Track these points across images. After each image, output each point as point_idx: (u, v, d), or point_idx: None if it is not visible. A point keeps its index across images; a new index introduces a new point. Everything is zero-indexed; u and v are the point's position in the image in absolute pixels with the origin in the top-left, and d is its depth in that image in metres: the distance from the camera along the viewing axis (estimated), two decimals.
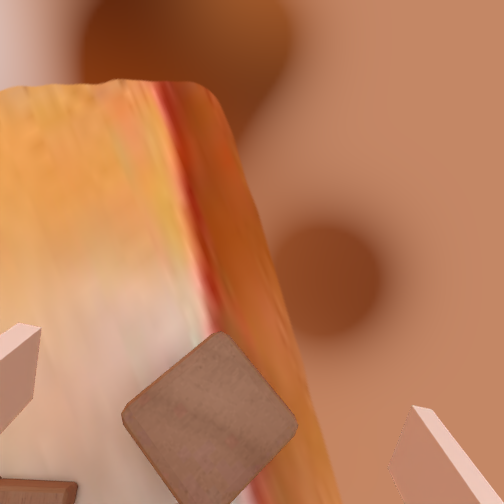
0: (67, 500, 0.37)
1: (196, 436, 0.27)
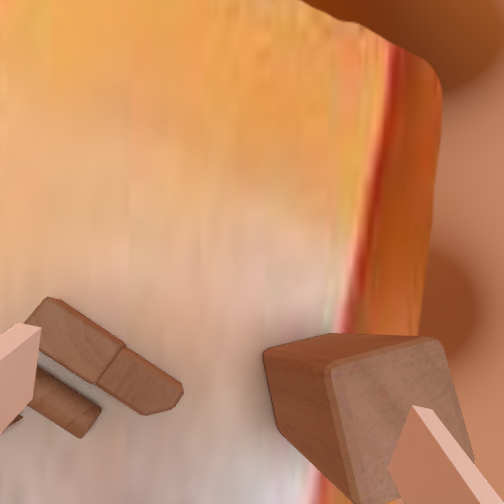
0: None
1: (388, 426, 0.26)
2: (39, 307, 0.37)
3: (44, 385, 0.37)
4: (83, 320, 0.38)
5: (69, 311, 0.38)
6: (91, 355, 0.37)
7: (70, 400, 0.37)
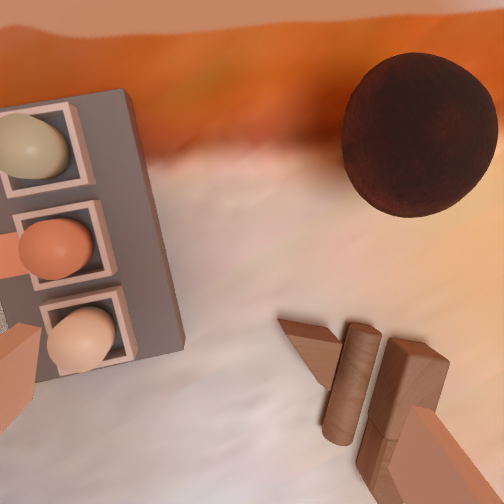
0: None
1: None
2: (439, 361, 0.36)
3: (364, 391, 0.37)
4: (437, 401, 0.37)
5: (442, 386, 0.37)
6: None
7: (358, 417, 0.38)
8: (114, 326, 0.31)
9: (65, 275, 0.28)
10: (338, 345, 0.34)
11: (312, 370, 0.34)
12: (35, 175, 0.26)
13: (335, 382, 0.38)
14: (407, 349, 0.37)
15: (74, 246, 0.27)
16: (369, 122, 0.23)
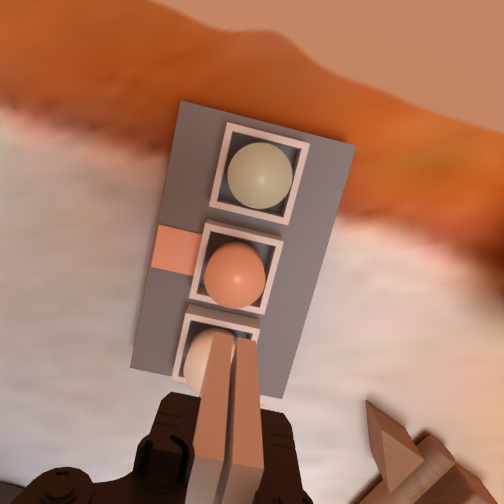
0: None
1: None
2: None
3: (413, 503, 0.37)
4: None
5: None
6: None
7: None
8: None
9: (235, 307, 0.27)
10: (420, 459, 0.34)
11: (388, 472, 0.34)
12: (258, 208, 0.26)
13: None
14: (472, 487, 0.37)
15: (257, 285, 0.27)
16: None
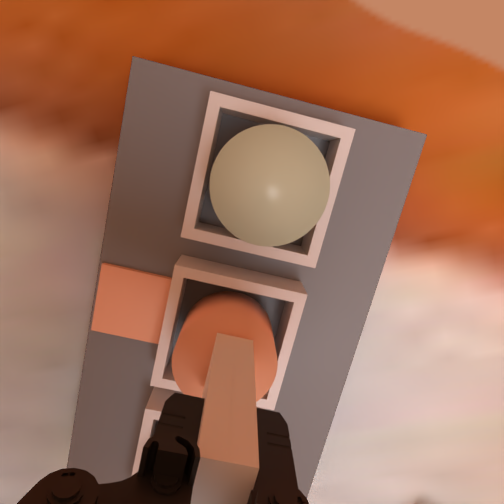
0: None
1: None
2: None
3: None
4: None
5: None
6: None
7: None
8: None
9: None
10: None
11: None
12: (266, 245, 0.14)
13: None
14: None
15: (264, 373, 0.16)
16: None
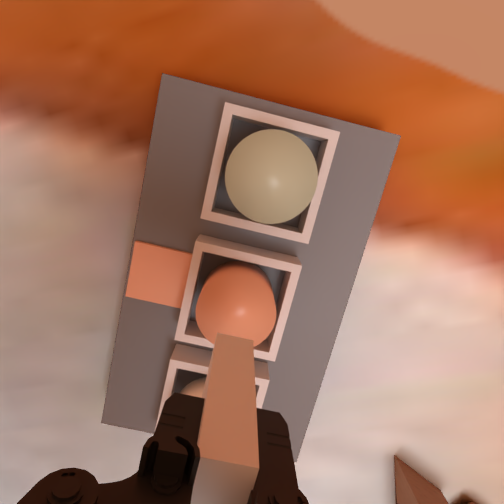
0: None
1: None
2: None
3: None
4: None
5: None
6: None
7: None
8: None
9: None
10: None
11: None
12: (268, 222, 0.18)
13: None
14: None
15: (266, 321, 0.20)
16: None
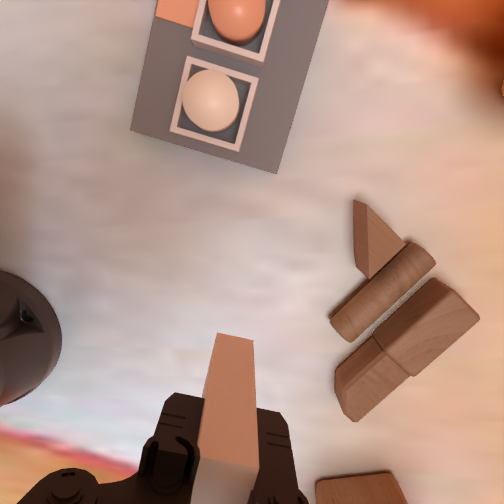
0: None
1: None
2: (472, 312, 0.37)
3: (391, 303, 0.38)
4: (447, 347, 0.38)
5: (460, 336, 0.38)
6: (413, 353, 0.38)
7: (371, 323, 0.39)
8: (238, 111, 0.32)
9: (236, 32, 0.29)
10: (402, 243, 0.35)
11: (370, 248, 0.35)
12: None
13: (369, 284, 0.39)
14: (450, 288, 0.37)
15: (258, 9, 0.29)
16: None
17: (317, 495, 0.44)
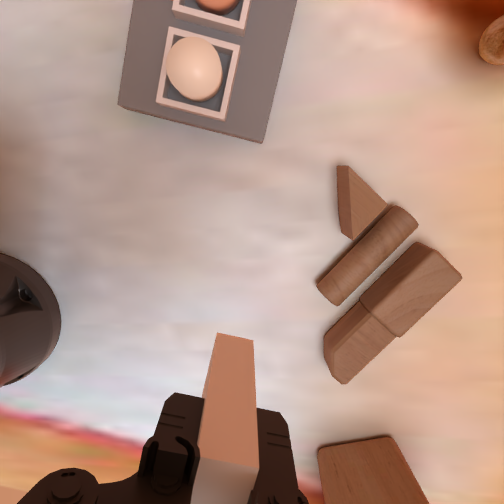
0: None
1: None
2: (455, 271, 0.38)
3: (376, 265, 0.39)
4: (431, 307, 0.39)
5: (443, 295, 0.39)
6: (398, 313, 0.39)
7: (356, 286, 0.40)
8: (222, 79, 0.33)
9: None
10: (384, 203, 0.36)
11: (352, 209, 0.35)
12: None
13: (353, 248, 0.40)
14: None
15: None
16: None
17: (319, 461, 0.45)
